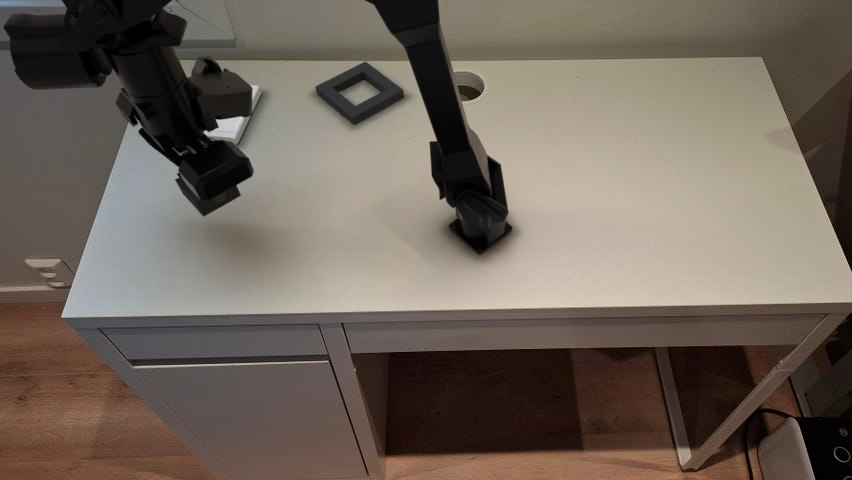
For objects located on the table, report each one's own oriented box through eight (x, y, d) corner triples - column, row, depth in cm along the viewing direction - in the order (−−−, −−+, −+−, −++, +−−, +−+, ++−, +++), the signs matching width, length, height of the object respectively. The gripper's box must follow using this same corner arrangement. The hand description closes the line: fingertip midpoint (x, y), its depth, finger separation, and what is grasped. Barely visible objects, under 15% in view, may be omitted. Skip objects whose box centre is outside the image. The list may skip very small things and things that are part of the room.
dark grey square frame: (404, 97, 99) (403, 89, 98) (354, 125, 95) (352, 117, 93) (366, 68, 103) (365, 61, 102) (316, 94, 99) (314, 86, 98)
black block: (241, 195, 73) (234, 181, 71) (203, 217, 71) (195, 202, 68) (219, 173, 75) (213, 159, 73) (182, 194, 73) (174, 179, 71)
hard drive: (210, 81, 97) (181, 133, 90) (259, 85, 97) (234, 137, 90) (213, 90, 99) (185, 141, 92) (262, 93, 99) (238, 145, 91)
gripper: (277, 88, 59) (311, 197, 71) (183, 9, 66) (229, 120, 79) (171, 142, 54) (227, 248, 67) (83, 50, 62) (148, 160, 74)
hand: (209, 188), depth 72 cm, fingers closed on black block, 5 cm apart
